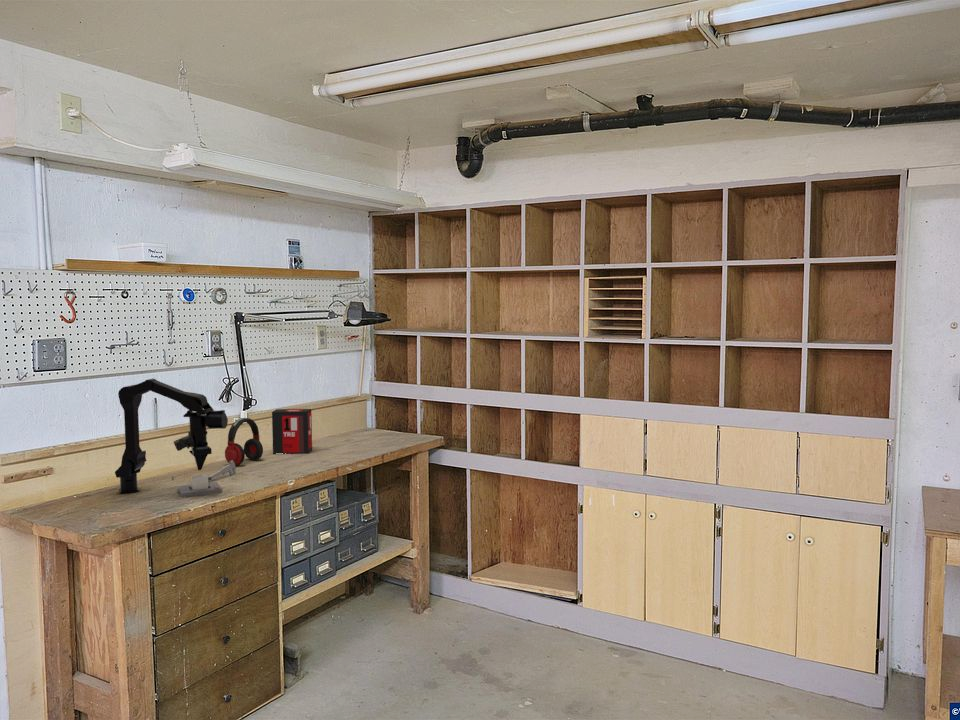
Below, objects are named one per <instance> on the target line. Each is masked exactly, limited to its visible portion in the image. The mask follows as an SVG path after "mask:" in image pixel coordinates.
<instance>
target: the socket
mask: <svg viewBox="0 0 960 720" xmlns="http://www.w3.org/2000/svg"><path fill="white" fill-rule="evenodd" d="M177 492H178V493H179V496H180V497H181V498H183V499H184V498H189V497H199V496H204V495H205V494H207V495H214V493H215V494H223V488H222V487H221V485H220V484H219V483H218V482H217V481H211V482H208V488H207V489H199V490H191V484H187V485H179V486H177ZM198 495H199V496H198Z"/></svg>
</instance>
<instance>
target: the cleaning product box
mask: <svg viewBox="0 0 960 720" xmlns="http://www.w3.org/2000/svg"><path fill="white" fill-rule="evenodd" d="M312 420H313V419H312V408H292V409H291V408H279V409H278V408H277V409H275V410H273V411H271V423H272V429H271V430H272V454H273V455H277V454H276V453H283V454H282V455H309V454H310V453H311V452H312V451H313V431H312V430H313V427H312V426H313V422H312ZM285 453H286V454H285Z"/></svg>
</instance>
